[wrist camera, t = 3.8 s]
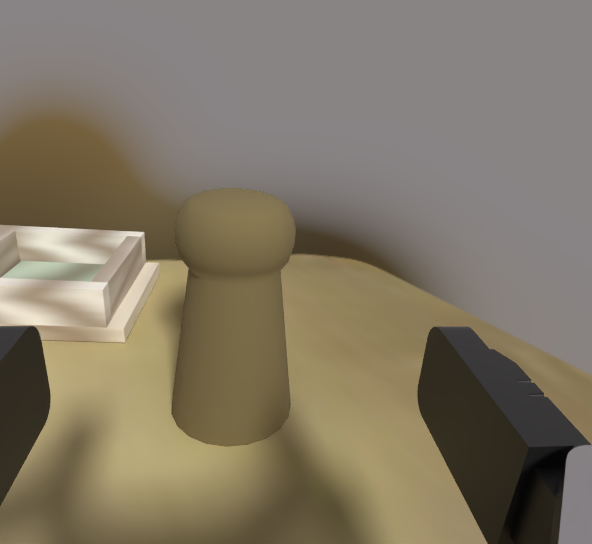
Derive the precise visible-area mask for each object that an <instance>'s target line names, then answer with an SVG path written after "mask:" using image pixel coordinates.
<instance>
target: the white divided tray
mask: <svg viewBox="0 0 592 544" xmlns="http://www.w3.org/2000/svg"><path fill="white" fill-rule="evenodd" d="M144 239H145V238H144V232H128V231H109V230H107V231H106V230H89V229H69V228H49V227H29V226H10V225H0V326H34V327H36V328H37V329H38V331H39V333H40V337H41V340H61V341H92V342H123V343H125V342H126V340H127V338H128V336H129V334H130V332H131V330H132V328H133V326H134V324H135V322H136V320H137V318H138V316H139V314H140V312H141V310H142V308H143V306H144V304H145V302H146V300H147V298H148V296H149V294H150V292H151V290H152V288H153V286H154V284H155V282H156V280H157V278H158V276H159V263H149V262H146V256H145V240H144Z"/></svg>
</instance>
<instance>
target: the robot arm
mask: <svg viewBox="0 0 592 544" xmlns="http://www.w3.org/2000/svg"><path fill="white" fill-rule="evenodd" d="M418 404H419V409H420V413H421V415H422V417H423V419H424V421H425V423H426V425H427V427H428V429H429V431H430V433H431V435H432V437H433V439H434V441H435V443H436V445H437V446H438V448H439V450H440V452H441V454H442V456H443V458H444V460H445V462H446V464H447V466H448V468H449V470H450V472H451V474H452V475H453V477H454V479H455V481H456V483H457V485H458V487H459V489H460V491H461V493H462V495H463V497H464V499H465V501H466V503H467V504H468V506H469V508H470V510H471V512H472V514H473V516H474V518H475V520H476V522H477V524H478V526H479V528H480V530H481V532H482V533H483V535H484V537H485V539H486V541H487V543H488V544H592V445H591V444H590V443H589V442H588V441H587V440H586V438H585V437H584V436H583V435H582V434H581V433H580V432H579V431H578V430H577V429H576V428H575V427H574V425H573V424H572V423H571V422H570V421H569V420H568V419H567V418H566V417H565V416H564V415H563V414H562V413H561V411H560V410H559V409H558V408H557V407H556V406H555V405H554V404H553V403H552V402H551V401H550V400H549V398H548V397H544V393H543V392H542V391H541V390H540V389H539V388H538V387H537V385H536V384H535V383H531V379H530V378H529V377H528V376H527V375H526V374H525V373H524V371H523V370H522V369H521V368H520V367H519V366H518V365H517V364H516V363H515V362H513V361H512V360H510V359H508V358H507V357H505V356H504V355H502V354H500V353H499V352H497V351H496V350H494V349H489V348H488V347H487V346H486V345H485V343H484V342H483V341H482V340H481V339H480V338H479V337H478V335H477V334H476V333H475V332H474V331H473V330H472V329H471V328H469V327H433V328H432V329H431V330H430V332H429V335H428V338H427V343H426V348H425V354H424V359H423V364H422V369H421V374H420V379H419V384H418ZM49 409H50V388H49V382H48V376H47V371H46V365H45V359H44V354H43V348H42V342H41V337H40V333H39V331H38V329H37V328H36V327H34V326H0V506H1V504H2V502H3V500H4V498H5V497H6V495H7V493H8V491H9V489H10V487H11V486H12V484H13V482H14V480H15V478H16V476H17V475H18V473H19V471H20V469H21V467H22V465H23V464H24V462H25V460H26V458H27V456H28V454H29V453H30V451H31V449H32V447H33V445H34V443H35V442H36V440H37V438H38V436H39V434H40V432H41V431H42V429H43V427H44V425H45V423H46V420H47V417H48V414H49Z"/></svg>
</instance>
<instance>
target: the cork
mask: <svg viewBox="0 0 592 544" xmlns="http://www.w3.org/2000/svg"><path fill="white" fill-rule="evenodd" d="M295 232H296V229H295V223H294V219H293V216H292V214H291V212H290V210H289V208H288V207H287V205H286V204H285V203H284V202H283V201H282V200H280V199H278V198H277V197H275V196H273V195H271V194H268V193H265V192H260V191H255V190H250V189H242V188H221V189H212V190H206V191H202V192H199V193H196V194H194V195H193V196H191V197H189V198H188V199H187V200H186V201H184V203H183V204H182V206H181V208H180V209H179V211H178V214H177V218H176V222H175V244H176V247H177V251H178V254H179V256H180V258H181V259H182V260H183V262H184V263H185V264H186V265H187V267H188V268H189V270H188V278H187V286H186V295H185V303H184V311H183V319H182V327H181V335H180V343H179V351H178V359H177V367H176V375H175V383H174V392H173V400H172V415H173V418H174V420H175V422H176V424H177V426H178V427H179V428H180V429H182V430H183V431H184V432H185V433H186V434H187V435H188V436H190V437H192V438H195V439H197V440H199V441H202V442H204V443H206V444H213V445H220V446H236V445H247V444H250V443H253V442H256V441H259V440H262V439H265V438H267V437H268V436H270V435H271V434H273V433H274V432H275V431H277V430H278V429H280V427H281V426H282V425H283V423H284V422H285V421H286V419H287V418H288V415H289V410H290V392H289V378H288V365H287V352H286V338H285V325H284V312H283V298H282V285H281V272H280V270H281V269H282V268H283V267H284V266H285V265H286V264H287V262H288V261H289V258H290V255H291V252H292V249H293V246H294V243H295Z"/></svg>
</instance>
